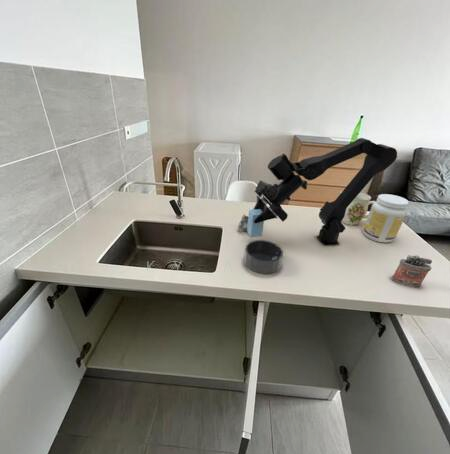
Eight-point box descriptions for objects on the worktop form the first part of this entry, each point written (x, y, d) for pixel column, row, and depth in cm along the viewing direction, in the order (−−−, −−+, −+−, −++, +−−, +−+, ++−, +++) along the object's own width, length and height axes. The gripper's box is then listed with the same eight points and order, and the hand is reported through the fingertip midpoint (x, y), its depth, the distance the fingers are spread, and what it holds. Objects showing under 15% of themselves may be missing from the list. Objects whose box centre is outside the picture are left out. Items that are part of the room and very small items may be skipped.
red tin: (392, 282, 78) (405, 257, 72) (390, 275, 80) (402, 251, 75) (421, 289, 75) (437, 263, 70) (418, 282, 78) (433, 257, 73)
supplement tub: (389, 231, 107) (405, 195, 98) (398, 246, 97) (417, 207, 88) (359, 227, 109) (372, 191, 101) (365, 240, 99) (380, 202, 90)
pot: (273, 253, 88) (276, 239, 85) (285, 275, 78) (288, 260, 75) (240, 255, 87) (242, 241, 84) (248, 277, 76) (250, 262, 73)
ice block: (257, 230, 93) (260, 209, 89) (261, 236, 90) (264, 214, 85) (247, 231, 92) (249, 209, 88) (250, 237, 89) (253, 215, 84)
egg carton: (243, 221, 109) (243, 213, 107) (259, 224, 107) (260, 216, 105) (236, 232, 100) (236, 223, 98) (253, 236, 98) (254, 227, 96)
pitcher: (375, 229, 108) (388, 200, 101) (334, 225, 110) (343, 196, 102) (366, 218, 117) (377, 191, 110) (328, 214, 119) (336, 188, 112)
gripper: (262, 165, 88) (231, 195, 91) (284, 182, 72) (246, 218, 76) (279, 185, 94) (249, 213, 97) (303, 205, 78) (266, 237, 81)
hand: (252, 219), depth 88 cm, fingers closed on ice block, 4 cm apart
